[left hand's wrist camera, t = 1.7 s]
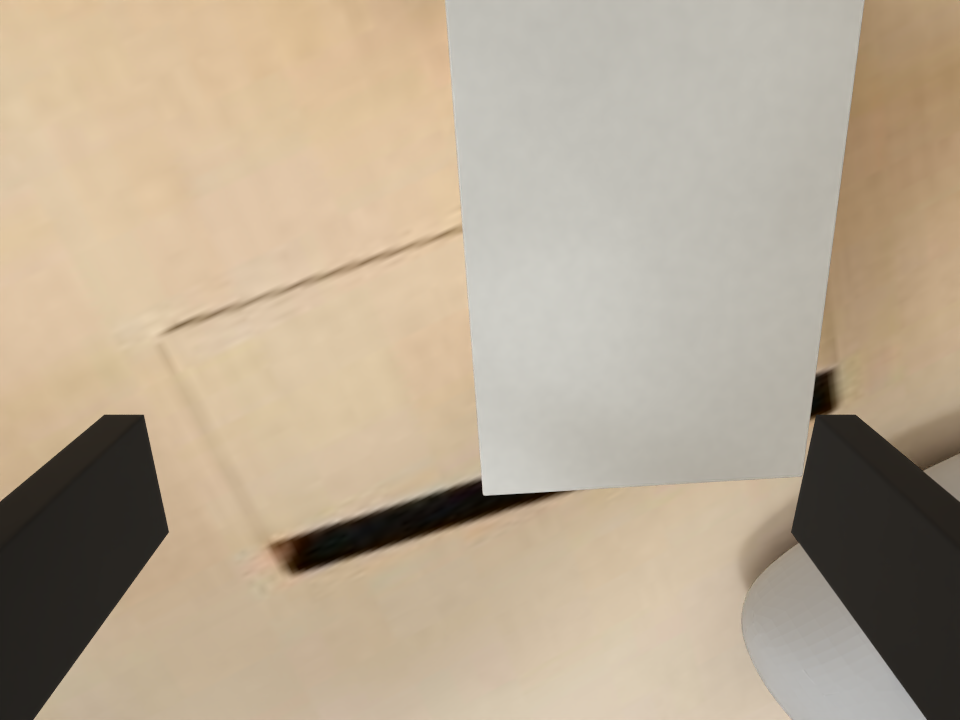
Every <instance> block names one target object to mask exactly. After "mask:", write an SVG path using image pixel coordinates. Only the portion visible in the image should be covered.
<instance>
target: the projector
mask: <svg viewBox="0 0 960 720" xmlns="http://www.w3.org/2000/svg"><path fill="white" fill-rule="evenodd" d="M923 471H924V472H925V473H926V474H927V475H928V476H930V477H931V478H932V479H933V480H934V481H936V482H937V483H938V484H939V485H940V486H942V487H943V488H944V489H945V490H946V491H947V492H949V493H950V494H951V495H952V496H953V497H955V498H956V499H957V500H958V501H959V502H960V454H957V455H955V456H953V457H951V458H949V459H946V460H944V461H942V462H940V463H938V464H936V465H934V466H932V467H930V468H927V469H925V470H923ZM742 633H743V637H744V641H745V644H746V647H747V650H748V652H749V655H750V657H751V660H752V662H753V664H754V666H755V668H756V670H757V672H758V674H759V675H760V677H761V679H762V681H763V682H764V684H765V685H766V687H767V688H768V690H769V691H770V693H771V694H772V696H773V697H774V698H775V699H776V701H777V702H778V703H779V705H780V706H781V707H782V708H783V710H784V711H785V712H786V713H787V714H788V716H789V717H790V718H791V719H792V720H927V719H926V718H925V717H924V715H923V714H922V712H921V711H920V710H919V708H918V707H917V706H916V704H915V703H914V701H913V700H912V699H911V697H910V696H909V694H908V693H907V692H906V690H905V689H904V688H903V686H902V685H901V683H900V682H899V681H898V679H897V678H896V677H895V675H894V674H893V672H892V671H891V670H890V668H889V667H888V665H887V664H886V663H885V661H884V660H883V659H882V657H881V656H880V654H879V653H878V652H877V650H876V649H875V647H874V646H873V645H872V643H871V642H870V641H869V639H868V638H867V636H866V635H865V634H864V632H863V631H862V629H861V628H860V627H859V625H858V624H857V623H856V621H855V620H854V618H853V617H852V616H851V614H850V613H849V611H848V610H847V609H846V607H845V606H844V605H843V603H842V602H841V600H840V599H839V598H838V596H837V595H836V593H835V592H834V591H833V589H832V588H831V587H830V585H829V584H828V582H827V581H826V580H825V578H824V577H823V575H822V574H821V573H820V571H819V570H818V569H817V567H816V566H815V564H814V563H813V562H812V560H811V559H810V558H809V556H808V555H807V553H806V552H805V551H804V549H803V548H802V546H801V545H800V544H799V543H798V544H796V545H795V546H793V547H792V548H791V549H789V550H788V551H786V552H785V553H784V554H783V555H782V556H780V557H779V558H778V559H777V560H775V561H774V562H773V563H772V564H770V565H769V566H768V567H767V568H766V569H765V570H764V571H763V572H762V573H761V574H760V575H759V576H758V578H757V579H756V580H755V582H754V583H753V584H752V586H751V588H750V589H749V591H748V593H747V595H746V598H745V601H744V604H743V609H742Z"/></svg>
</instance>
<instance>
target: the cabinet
mask: <svg viewBox="0 0 960 720" xmlns="http://www.w3.org/2000/svg"><path fill="white" fill-rule="evenodd" d="M864 1H865V0H445V6H446V19H447V32H448V45H449V58H450V71H451V84H452V97H453V110H454V123H455V136H456V149H457V162H458V175H459V188H460V201H461V214H462V227H463V240H464V253H465V266H466V279H467V292H468V306H469V319H470V332H471V345H472V358H473V371H474V384H475V397H476V410H477V423H478V436H479V449H480V462H481V475H482V488H483V495H502V494H519V493H535V492H552V491H569V490H585V489H602V488H619V487H635V486H652V485H669V484H685V483H702V482H719V481H735V480H752V479H769V478H785V477H801V476H802V474H803V467H804V459H805V451H806V444H807V436H808V429H809V421H810V413H811V406H812V398H813V390H814V383H815V375H816V367H817V360H818V352H819V345H820V337H821V329H822V322H823V314H824V306H825V299H826V291H827V283H828V276H829V268H830V261H831V253H832V245H833V238H834V230H835V222H836V215H837V207H838V199H839V192H840V184H841V177H842V169H843V161H844V154H845V146H846V138H847V131H848V123H849V115H850V108H851V100H852V93H853V85H854V77H855V70H856V62H857V54H858V47H859V39H860V31H861V24H862V16H863V9H864Z"/></svg>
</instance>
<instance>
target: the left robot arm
mask: <svg viewBox="0 0 960 720" xmlns="http://www.w3.org/2000/svg"><path fill="white" fill-rule="evenodd" d="M168 533H169V531H168V526H167V521H166V517H165V512H164V507H163V503H162V498H161V493H160V489H159V484H158V479H157V475H156V470H155V465H154V461H153V456H152V451H151V447H150V442H149V437H148V433H147V428H146V423H145V419H144V415H104V416H102V417H101V418H100V419H99V420H98V421H96V422H95V423H94V424H93V425H92V426H90V427H89V428H88V429H87V430H86V431H84V432H83V433H82V434H81V435H80V436H78V437H77V438H76V439H75V440H74V441H72V442H71V443H70V444H69V445H68V446H66V447H65V448H64V449H63V450H62V451H60V452H59V453H58V454H57V455H56V456H54V457H53V458H52V459H51V460H50V461H48V462H47V463H46V464H45V465H44V466H42V467H41V468H40V469H39V470H38V471H36V472H35V473H34V474H33V475H32V476H30V477H29V478H28V479H27V480H26V481H24V482H23V483H22V484H21V485H20V486H18V487H17V488H16V489H15V490H14V491H13V492H11V493H10V494H9V495H8V496H7V497H5V498H4V499H3V500H2V501H1V502H0V720H33V719H34V718H35V717H36V715H37V714H38V712H39V711H40V710H41V708H42V707H43V706H44V704H45V703H46V701H47V700H48V699H49V697H50V696H51V694H52V693H53V692H54V690H55V689H56V688H57V686H58V685H59V683H60V682H61V681H62V679H63V678H64V677H65V675H66V674H67V672H68V671H69V670H70V668H71V667H72V665H73V664H74V663H75V661H76V660H77V659H78V657H79V656H80V654H81V653H82V652H83V650H84V649H85V647H86V646H87V645H88V643H89V642H90V641H91V639H92V638H93V636H94V635H95V634H96V632H97V631H98V629H99V628H100V627H101V625H102V624H103V623H104V621H105V620H106V618H107V617H108V616H109V614H110V613H111V611H112V610H113V609H114V607H115V606H116V605H117V603H118V602H119V600H120V599H121V598H122V596H123V595H124V593H125V592H126V591H127V589H128V588H129V587H130V585H131V584H132V582H133V581H134V580H135V578H136V577H137V575H138V574H139V573H140V571H141V570H142V569H143V567H144V566H145V564H146V563H147V562H148V560H149V559H150V558H151V556H152V555H153V553H154V552H155V551H156V549H157V548H158V546H159V545H160V544H161V542H162V541H163V540H164V538H165V537H166V535H167V534H168ZM791 533H792V534H793V535H794V537H795V538H796V540H797V541H798V542H799V544H800V545H801V546H802V548H803V549H804V551H805V552H806V553H807V555H808V556H809V558H810V559H811V560H812V562H813V563H814V564H815V566H816V567H817V569H818V570H819V571H820V573H821V574H822V575H823V577H824V578H825V580H826V581H827V582H828V584H829V585H830V587H831V588H832V589H833V591H834V592H835V593H836V595H837V596H838V598H839V599H840V600H841V602H842V603H843V605H844V606H845V607H846V609H847V610H848V611H849V613H850V614H851V616H852V617H853V618H854V620H855V621H856V623H857V624H858V625H859V627H860V628H861V629H862V631H863V632H864V634H865V635H866V636H867V638H868V639H869V641H870V642H871V643H872V645H873V646H874V647H875V649H876V650H877V652H878V653H879V654H880V656H881V657H882V659H883V660H884V661H885V663H886V664H887V665H888V667H889V668H890V670H891V671H892V672H893V674H894V675H895V677H896V678H897V679H898V681H899V682H900V683H901V685H902V686H903V688H904V689H905V690H906V692H907V693H908V694H909V696H910V697H911V699H912V700H913V701H914V703H915V704H916V706H917V707H918V708H919V710H920V711H921V712H922V714H923V715H924V717H925V718H926V719H927V720H960V502H959V501H958V500H957V499H956V498H955V497H953V496H952V495H951V494H950V493H949V492H947V491H946V490H945V489H944V488H943V487H942V486H940V485H939V484H938V483H937V482H936V481H934V480H933V479H932V478H931V477H930V476H928V475H927V474H926V473H925V472H924V471H922V470H921V469H920V468H919V467H918V466H916V465H915V464H914V463H913V462H912V461H910V460H909V459H908V458H907V457H906V456H904V455H903V454H902V453H901V452H900V451H898V450H897V449H896V448H895V447H894V446H892V445H891V444H890V443H889V442H888V441H886V440H885V439H884V438H883V437H882V436H880V435H879V434H878V433H877V432H876V431H874V430H873V429H872V428H871V427H870V426H868V425H867V424H866V423H865V422H864V421H862V420H861V419H860V418H859V417H858V416H856V415H816V419H815V423H814V428H813V433H812V437H811V442H810V447H809V451H808V456H807V461H806V465H805V470H804V475H803V479H802V484H801V489H800V493H799V498H798V503H797V507H796V512H795V517H794V521H793V526H792V531H791Z"/></svg>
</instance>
